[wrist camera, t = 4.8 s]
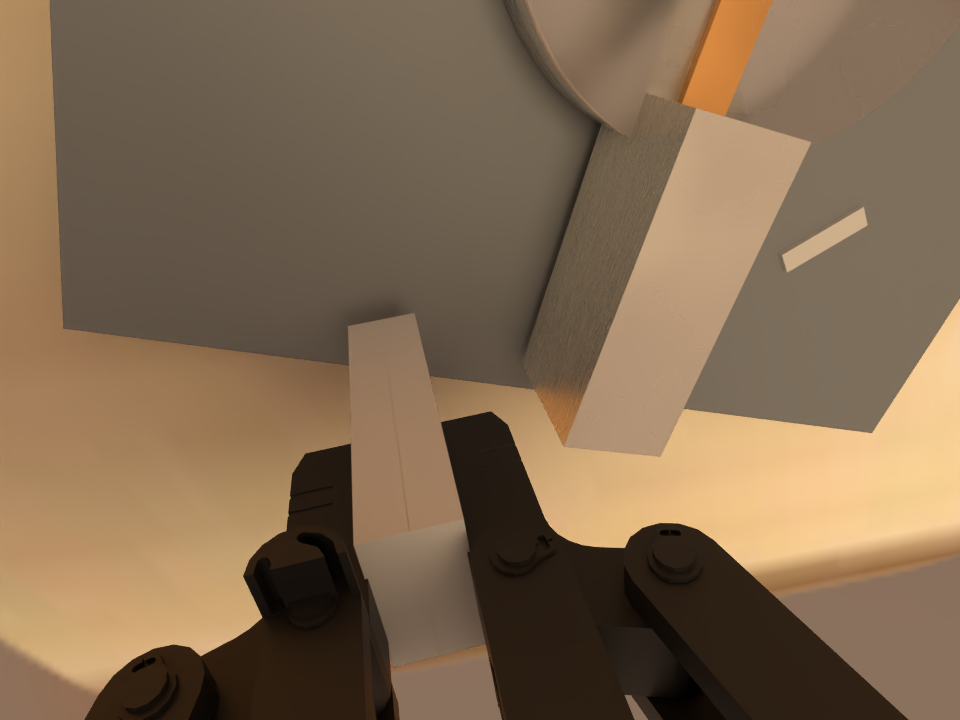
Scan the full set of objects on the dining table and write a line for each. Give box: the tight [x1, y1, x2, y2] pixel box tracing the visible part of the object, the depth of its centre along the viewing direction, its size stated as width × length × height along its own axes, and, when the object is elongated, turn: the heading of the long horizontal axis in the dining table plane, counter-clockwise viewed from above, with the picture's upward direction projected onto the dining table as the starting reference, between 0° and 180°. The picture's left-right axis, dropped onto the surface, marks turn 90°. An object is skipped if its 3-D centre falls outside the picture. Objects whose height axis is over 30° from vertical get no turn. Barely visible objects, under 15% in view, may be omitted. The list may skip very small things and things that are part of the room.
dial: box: [504, 0, 960, 457], centre depth 12 cm, size 16×10×4 cm, turn 165°
